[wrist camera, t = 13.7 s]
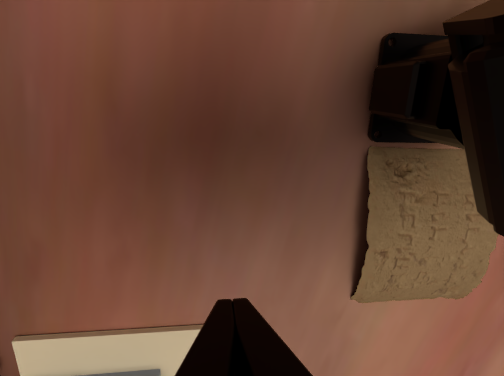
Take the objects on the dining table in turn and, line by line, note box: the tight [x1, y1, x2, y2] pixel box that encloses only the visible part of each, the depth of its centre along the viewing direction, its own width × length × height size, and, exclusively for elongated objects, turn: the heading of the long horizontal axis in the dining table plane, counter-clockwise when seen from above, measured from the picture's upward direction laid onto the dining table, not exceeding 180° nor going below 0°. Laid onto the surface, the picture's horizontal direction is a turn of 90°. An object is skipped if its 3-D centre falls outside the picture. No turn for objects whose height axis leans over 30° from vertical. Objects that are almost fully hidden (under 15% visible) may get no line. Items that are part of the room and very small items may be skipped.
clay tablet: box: [351, 146, 499, 303], centre depth 23 cm, size 14×10×3 cm
